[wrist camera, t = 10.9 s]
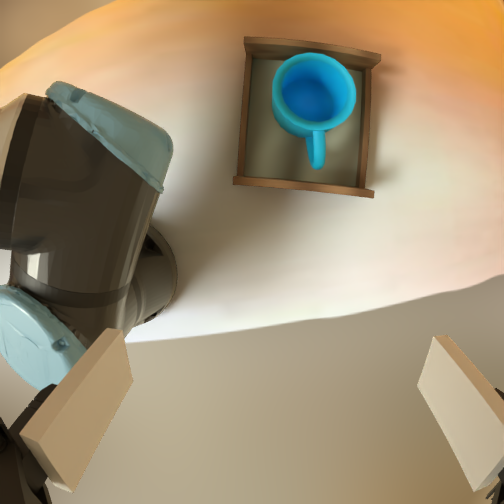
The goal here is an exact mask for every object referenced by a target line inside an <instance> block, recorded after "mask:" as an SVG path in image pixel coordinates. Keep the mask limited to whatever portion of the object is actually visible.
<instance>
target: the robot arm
mask: <svg viewBox="0 0 504 504" xmlns="http://www.w3.org/2000/svg"><path fill="white" fill-rule="evenodd" d="M45 95H47V97H40V96H35V95H31V94H27V93H24V94H22V95H21V96H19V97H18V98H16V99H14V100H13V101H12V102H10V103H9V104H7V105H6V106H4V107H1V108H0V249H5V250H12V253H11V265H10V278H9V281H8V283H7V284H5V285H0V352H1V354H2V356H3V357H4V358H5V360H6V361H7V362H8V364H9V365H10V366H11V367H12V368H13V370H14V371H15V372H16V373H17V374H18V375H19V376H21V377H22V378H23V379H24V380H25V381H26V382H28V383H29V384H30V385H31V386H33V387H35V388H36V389H38V390H39V391H40V392H39V393H38V394H37V396H36V397H35V398H34V400H32V401H31V403H30V404H29V405H28V407H26V409H25V410H24V411H23V412H22V413H21V415H20V416H19V417H18V418H17V419H16V421H15V422H14V423H13V424H12V426H11V427H10V428H9V429H7V427H6V426H5V424H4V422H3V420H2V419H1V417H0V504H52V502H51V498H50V495H49V492H48V488H47V486H46V484H45V483H44V482H45V481H46V479H47V477H49V479H50V480H51V481H52V483H53V484H54V485H55V486H57V487H59V488H61V489H64V490H66V491H68V492H71V493H74V491H75V489H76V487H77V485H78V483H79V481H80V479H81V477H82V475H83V473H84V471H85V469H86V467H87V465H88V463H89V462H90V460H91V458H92V456H93V454H94V452H95V450H96V448H97V446H98V444H99V443H100V441H101V439H102V437H103V435H104V433H105V431H106V430H107V428H108V426H109V424H110V422H111V420H112V419H113V417H114V415H115V413H116V411H117V409H118V408H119V406H120V404H121V402H122V400H123V399H124V397H125V395H126V393H127V392H128V390H129V388H130V386H131V384H132V383H133V378H132V374H131V370H130V365H129V361H128V356H127V351H126V346H125V340H124V338H125V337H126V336H127V334H128V333H129V332H130V330H131V329H132V328H133V327H136V326H138V325H141V324H143V323H146V322H148V321H150V320H152V319H154V318H155V317H157V316H158V315H159V314H160V313H161V312H162V311H163V310H164V309H165V307H166V306H167V305H168V303H169V302H170V300H171V299H172V297H173V294H174V292H175V288H176V284H177V267H176V262H175V259H174V256H173V253H172V251H171V249H170V247H169V245H168V243H167V242H166V241H165V239H164V238H163V237H162V235H161V234H160V233H159V232H158V231H157V230H156V229H154V228H153V227H152V226H150V225H149V224H150V221H151V218H152V215H153V212H154V209H155V206H156V204H157V201H158V198H159V195H160V193H161V194H162V193H163V191H164V187H163V182H164V179H165V176H166V173H167V170H168V167H169V164H170V161H171V158H172V155H173V142H172V140H171V138H170V136H169V134H168V133H167V132H166V131H165V130H164V129H162V128H161V127H159V126H158V125H156V124H154V123H153V122H151V121H149V120H147V119H145V118H144V117H142V116H140V115H138V114H136V113H134V112H132V111H130V110H128V109H126V108H124V107H122V106H120V105H118V104H116V103H114V102H111V101H109V100H107V99H105V98H103V97H100V96H98V95H96V94H93V93H91V92H87V91H85V90H83V89H80V88H77V87H75V86H73V85H71V84H68V83H65V82H62V81H56V82H54V83H53V84H52V85H51V86H50V88H48V89H47V90H46V94H45ZM417 387H418V388H419V390H420V392H421V393H422V395H423V397H424V399H425V400H426V402H427V404H428V406H429V407H430V409H431V411H432V413H433V414H434V416H435V418H436V420H437V421H438V423H439V425H440V427H441V429H442V431H443V432H444V434H445V436H446V438H447V440H448V442H449V444H450V445H451V447H452V449H453V451H454V453H455V455H456V457H457V459H458V461H459V463H460V465H461V467H462V469H463V471H464V473H465V475H466V477H467V479H468V481H469V483H470V485H471V487H472V489H473V491H477V490H480V489H482V488H484V487H486V486H488V485H490V484H491V482H492V481H493V480H494V479H495V478H496V477H497V475H498V477H499V478H500V481H499V482H498V483H497V485H496V486H495V487H494V488H493V489H492V490H491V491H490V492H489V493H488V495H487V497H486V499H488V498H489V497H490V496H491V495H492V494H493V493H494V492H495V493H494V496H493V498H492V499H491V500H492V504H504V393H503V392H502V391H500V390H499V389H497V388H495V389H494V388H493V387H492V386H491V385H490V383H489V382H488V381H487V380H486V379H485V377H484V376H483V375H482V374H481V373H480V372H479V370H478V369H477V368H476V367H475V366H474V365H473V363H472V362H471V361H470V360H469V359H468V358H467V357H466V355H465V354H464V353H463V352H462V351H461V350H460V349H459V347H458V346H457V345H456V344H455V343H454V342H453V341H452V340H451V339H450V338H449V336H448V335H442V336H434V337H433V340H432V343H431V347H430V350H429V353H428V356H427V359H426V362H425V365H424V368H423V371H422V374H421V376H420V379H419V383H418V385H417Z"/></svg>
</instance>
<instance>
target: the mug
mask: <svg viewBox="0 0 504 504" xmlns="http://www.w3.org/2000/svg"><path fill="white" fill-rule="evenodd" d="M355 103H356V88H355V85H354V81H353V78H352V77H351V75H350V74H349V72H348V71H347V70H346V68H345V67H344V66H343V65H341V64H340V63H339V62H338V61H336V60H335V59H333V58H331V57H328V56H326V55H324V54H318V53H304V54H298V55H295V56H293V57H291V58H290V59H288V60H286V61H285V62H284V63H283V64H282V65H281V66H280V67H279V68H278V69H277V72H276V74H275V76H274V79H273V87H272V111H273V114H274V118H275V119H276V121H277V122H278V124H279V125H280V127H282V128H283V129H284V130H285V131H287V132H288V133H289V134H292V135H294V136H297V137H300V138H305V139H306V146H307V152H308V157H309V161H310V164H311V166H312V168H313V169H315V170H320V169H322V168H323V166H324V164H325V158H326V139H325V133H326V132H328V131H329V130H331V129H333V128H334V127H336V126H338V125H339V124H341V123H343V122H344V121H345V120H346V119H347V118H348V116H349V115H350V114H351V113H352V111H353V108H354V105H355Z"/></svg>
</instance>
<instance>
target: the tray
mask: <svg viewBox="0 0 504 504" xmlns="http://www.w3.org/2000/svg"><path fill="white" fill-rule="evenodd" d="M244 46H245V51H246V62H245V74H244V86H243V99H242V111H241V125H240V138H239V152H238V167H237V176H234V177H233V185H248V186H261V187H274V188H285V189H296V190H306V191H316V192H325V193H334V194H343V195H351V196H359V197H367V198H374V191H372V190H369V189H365V179H366V169H367V157H368V143H369V127H370V105H371V69H372V68H373V67H374V66H375V65H376V64H378V63H379V62H380V61H381V54H377V53H373V52H368V51H364V50H359V49H354V48H348V47H343V46H337V45H331V44H324V43H317V42H309V41H301V40H291V39H279V38H264V37H244ZM304 53H318V54H324V55H326V56H328V57H331V58H333V59H335V60H336V61H338V62H339V63H340V64H341V65H343V66H344V67H345V68H346V70H347V71H348V72H349V74H350V75H351V77H352V78H353V81H354V85H355V88H356V103H355V105H354V108H353V111H352V113H351V114H350V115H349V116H348V118H347V119H346V120H345V121H344V122H343V123H341V124H339V125H338V126H336V127H334V128H333V129H331V130H329V131H328V132H326V133H325V139H326V158H325V164H324V166H323V168H322V169H320V170H315V169H313V168H312V166H311V164H310V161H309V157H308V152H307V146H306V139H305V138H300V137H297V136H294V135H292V134H289V133H288V132H287V131H285V130H284V129H283V128H282V127H280V125H279V124H278V122H277V121H276V119H275V118H274V114H273V111H272V87H273V79H274V76H275V74H276V72H277V69H278V68H279V67H280V66H281V65H282V64H283V63H284V62H285V61H286V60H288V59H290V58H291V57H293V56H295V55H298V54H304Z"/></svg>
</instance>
